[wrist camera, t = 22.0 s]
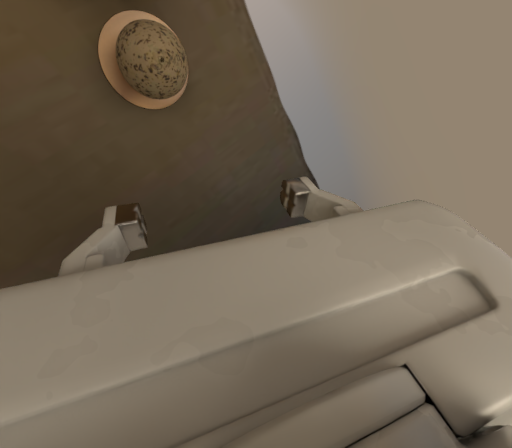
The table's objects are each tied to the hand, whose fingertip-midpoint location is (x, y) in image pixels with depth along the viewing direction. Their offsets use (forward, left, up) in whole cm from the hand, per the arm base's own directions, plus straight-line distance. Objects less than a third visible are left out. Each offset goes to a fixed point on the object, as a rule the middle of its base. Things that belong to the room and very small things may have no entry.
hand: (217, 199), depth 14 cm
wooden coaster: (+4, -6, -26) cm, 27 cm away
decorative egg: (+4, -6, -26) cm, 27 cm away
